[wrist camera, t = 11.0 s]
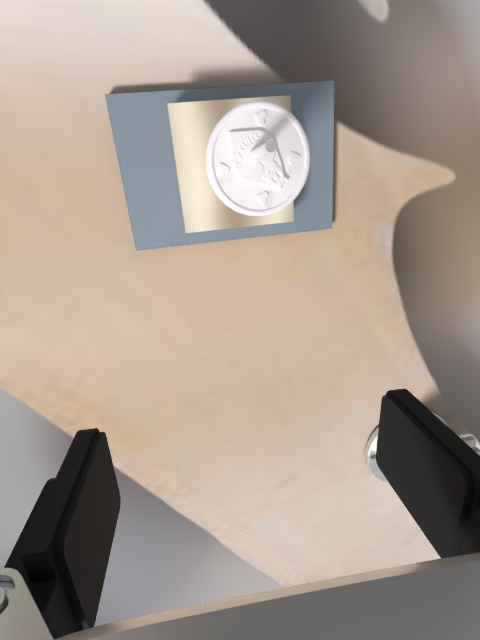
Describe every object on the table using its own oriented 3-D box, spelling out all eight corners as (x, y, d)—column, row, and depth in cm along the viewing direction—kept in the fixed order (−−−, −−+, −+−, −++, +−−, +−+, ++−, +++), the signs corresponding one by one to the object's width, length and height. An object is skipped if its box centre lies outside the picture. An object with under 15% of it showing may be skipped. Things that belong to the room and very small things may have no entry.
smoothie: (230, 108, 28) (273, 39, 15) (287, 164, 30) (368, 145, 17) (183, 175, 29) (185, 164, 16) (241, 223, 31) (284, 249, 18)
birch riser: (280, 103, 31) (290, 95, 28) (285, 218, 35) (293, 221, 32) (168, 111, 30) (167, 103, 27) (185, 229, 33) (185, 233, 31)
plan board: (330, 83, 32) (334, 80, 31) (328, 227, 37) (332, 228, 36) (107, 97, 29) (105, 94, 29) (137, 248, 34) (136, 250, 33)
